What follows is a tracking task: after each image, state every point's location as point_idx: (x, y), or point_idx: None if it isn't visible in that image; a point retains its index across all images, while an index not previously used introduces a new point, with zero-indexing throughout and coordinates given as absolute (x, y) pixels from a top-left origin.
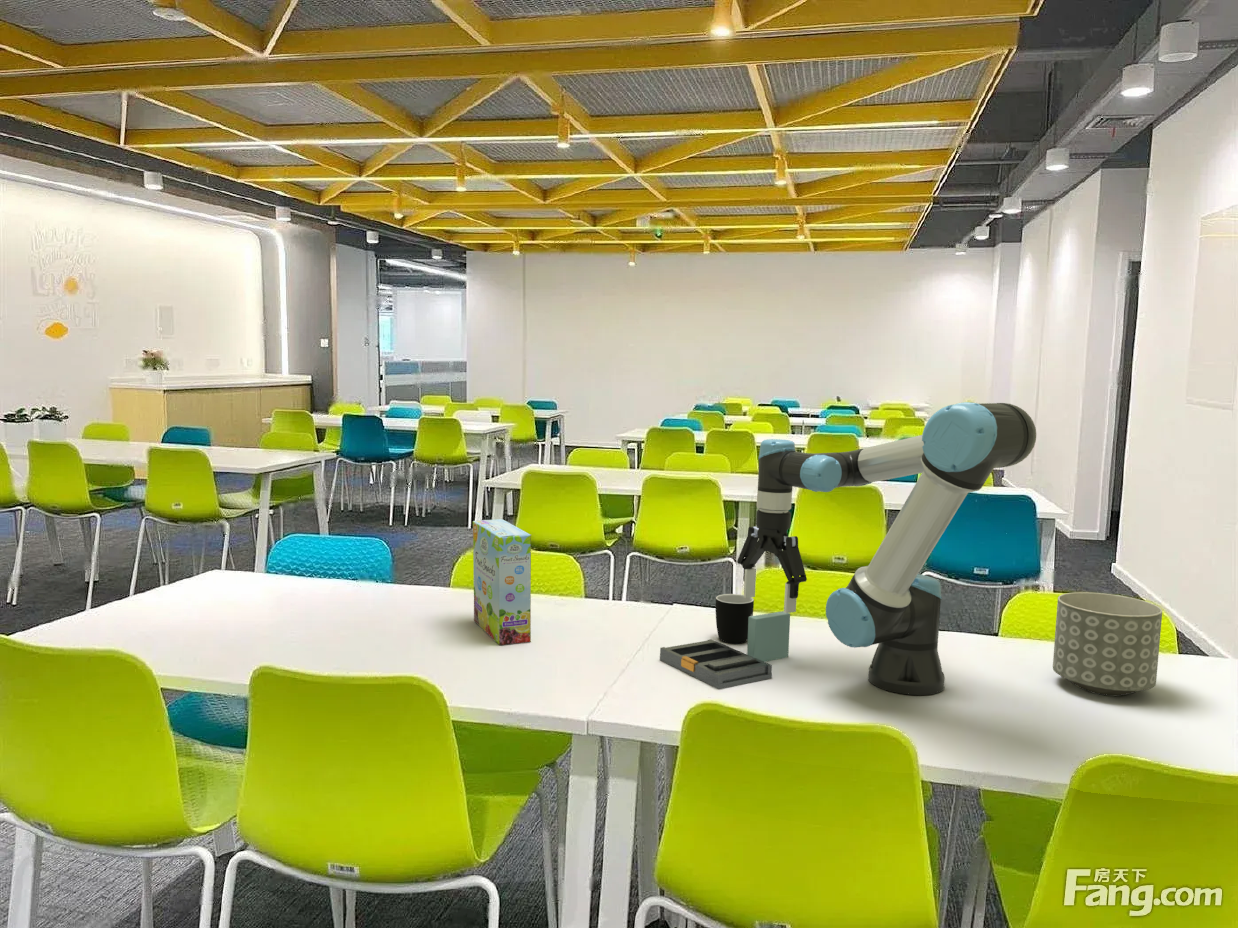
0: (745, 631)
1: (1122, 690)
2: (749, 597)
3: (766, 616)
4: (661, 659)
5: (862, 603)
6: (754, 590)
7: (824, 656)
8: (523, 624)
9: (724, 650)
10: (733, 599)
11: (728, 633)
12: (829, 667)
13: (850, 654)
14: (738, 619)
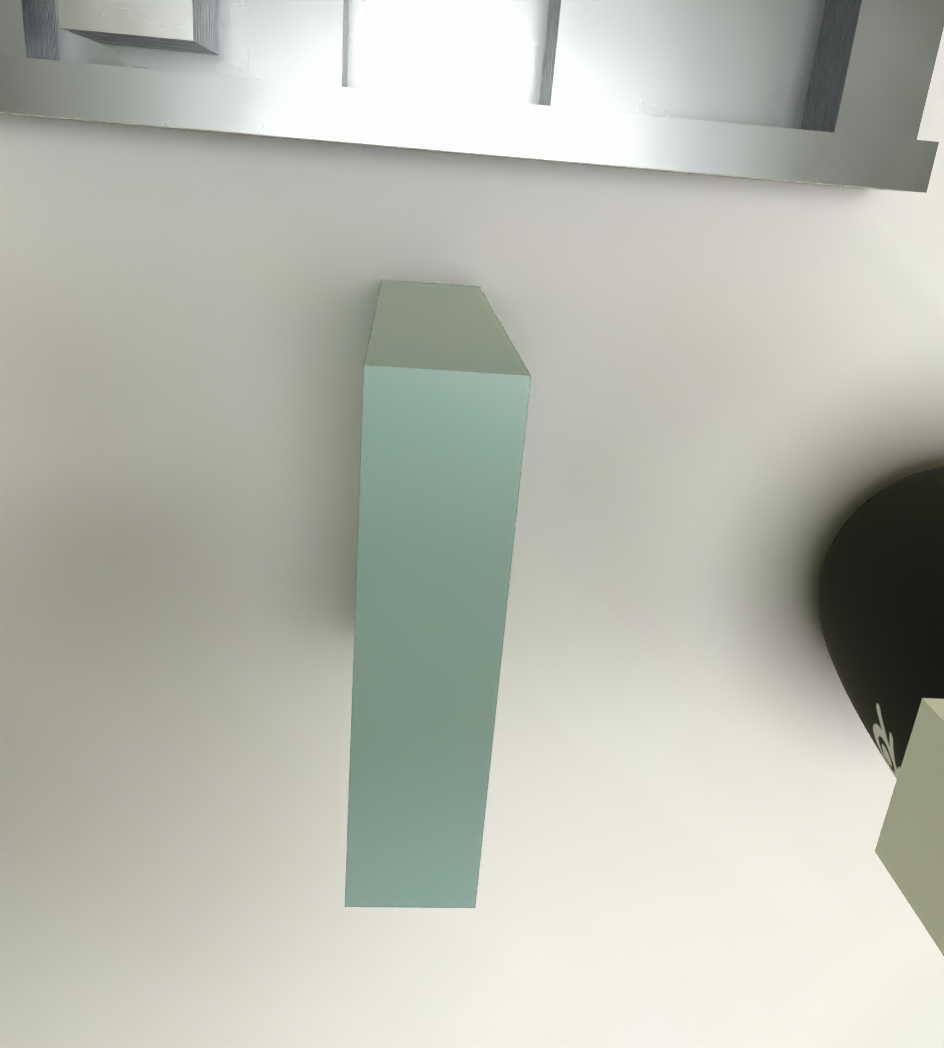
0: (838, 625)
1: None
2: (901, 765)
3: (403, 600)
4: None
5: None
6: (928, 917)
7: (245, 850)
8: None
9: (565, 17)
10: None
11: (933, 490)
12: (22, 720)
13: (197, 999)
14: (930, 605)
